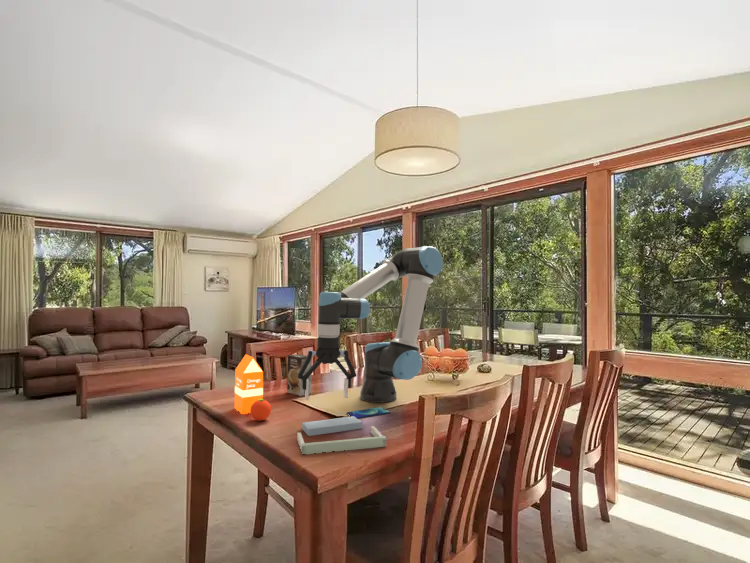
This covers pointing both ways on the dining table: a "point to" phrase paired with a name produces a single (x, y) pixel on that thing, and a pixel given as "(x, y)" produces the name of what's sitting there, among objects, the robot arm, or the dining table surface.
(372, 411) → the smartphone
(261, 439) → the dining table surface
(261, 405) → the clementine
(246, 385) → the orange juice
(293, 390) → the coffee box
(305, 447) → the docking bay
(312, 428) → the blue-grey rectangular slab
